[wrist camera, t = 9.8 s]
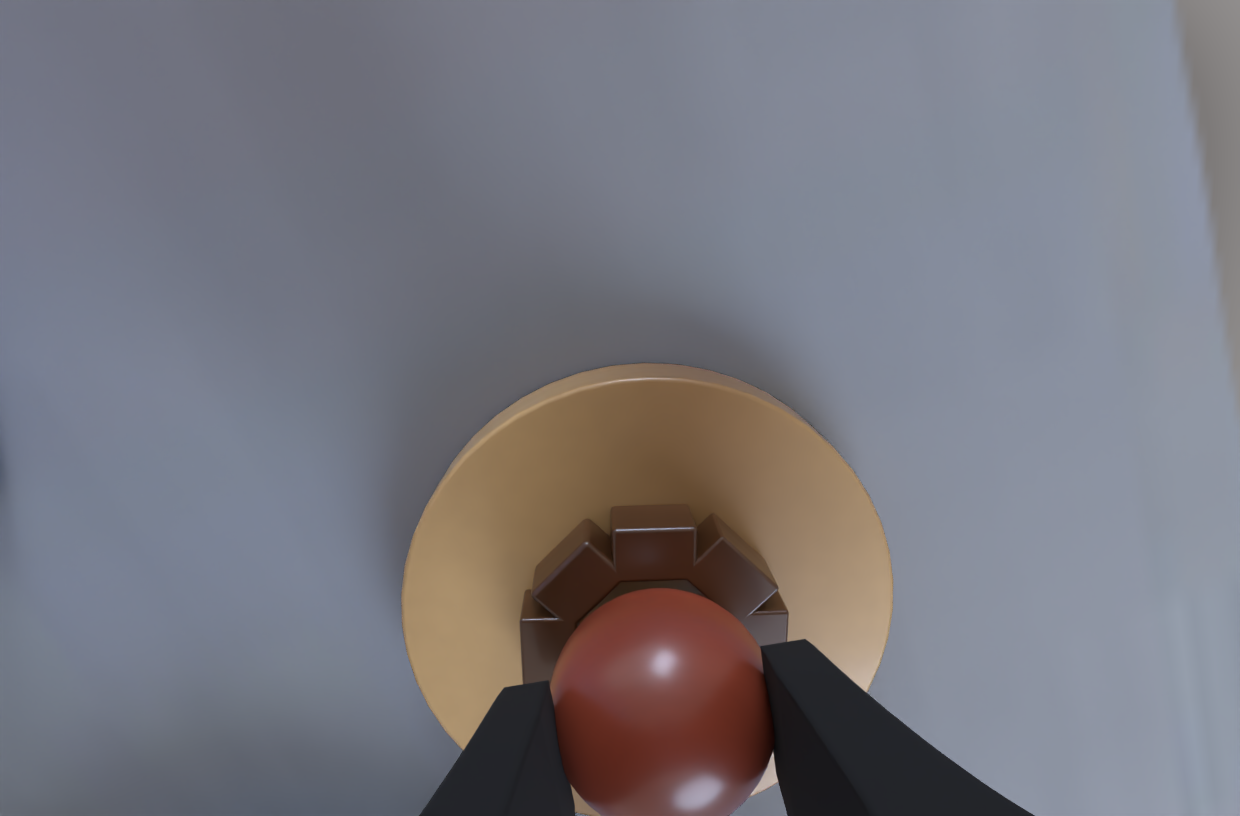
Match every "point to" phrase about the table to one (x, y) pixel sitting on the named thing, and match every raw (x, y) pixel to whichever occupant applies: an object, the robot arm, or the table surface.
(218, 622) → the table surface
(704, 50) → the table surface
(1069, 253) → the table surface
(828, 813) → the robot arm
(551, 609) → the holder
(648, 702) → the ball
